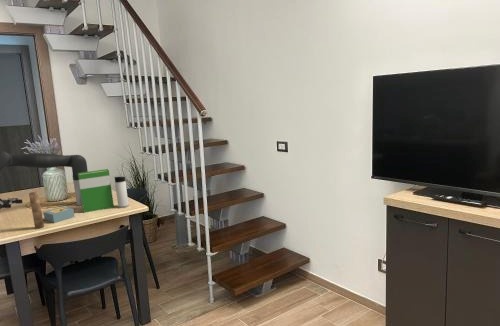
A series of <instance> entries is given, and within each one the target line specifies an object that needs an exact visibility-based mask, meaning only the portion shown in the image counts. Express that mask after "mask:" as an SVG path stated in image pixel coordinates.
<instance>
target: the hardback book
mask: <svg viewBox="0 0 500 326" xmlns="http://www.w3.org/2000/svg"><path fill="white" fill-rule="evenodd" d="M78 177H79V184H80V190H81V197H82V203H83V205H82V208H83V213H84V214H85V213H89V212H96V211H102V210H107V209H113V208H114V207H115V205H114V198H113V191H112V184H111V183H112V182H111V177H110V171H109V169H108V168H106V169H105V168H104V169H97V170H92V171H88V172H82V173H78Z"/></svg>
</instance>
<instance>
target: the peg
mask: <svg viewBox="0 0 500 326" xmlns="http://www.w3.org/2000/svg"><path fill="white" fill-rule="evenodd" d="M28 195H29V203H30V208H31V213H32V218H33V224H34V229H35V230H39V229H43V228H45V223H44V216H43V212H42V207H41V201H40V195H39V192H38V191H34V192H33V191H32V192H29V193H28Z"/></svg>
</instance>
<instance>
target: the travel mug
mask: <svg viewBox="0 0 500 326" xmlns="http://www.w3.org/2000/svg"><path fill="white" fill-rule="evenodd" d="M114 183H115V191H116V199H117V206H118V208H120V209H124V208H127V207H129V204H130V203H129V199H128V191H127V183H126V177H125V176H115V177H114Z"/></svg>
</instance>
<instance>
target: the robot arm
mask: <svg viewBox="0 0 500 326" xmlns="http://www.w3.org/2000/svg"><path fill="white" fill-rule="evenodd" d="M7 167H25V168H38V169H48V168H49V169H50V168H57V167H58V168H59V167H66V168H71V171H72V181H73V189H74V194H75V202H76V205H77V206H83V203H82V197H81V190H80V184H79V177H78V173H82V172H89V171H88V164H87V160H86V158H85V156H83V155H81V154H71V155H70V154H68V155H67V154H66V155H63V154H53V153H42V152H41V153H39V152H38V153H37V152H36V153H35V152H33V153H24V154H23V153H22V154H18V153H17V154H16V153H8V151H4V150H0V171H1V170H3V169H4V168H7ZM16 204H23V199H19V198H18V197H16V198H15V197H13V198H7V199H2V198H0V210H1V209H2V210H3V209H11V208H12V206H13V205H16Z"/></svg>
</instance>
